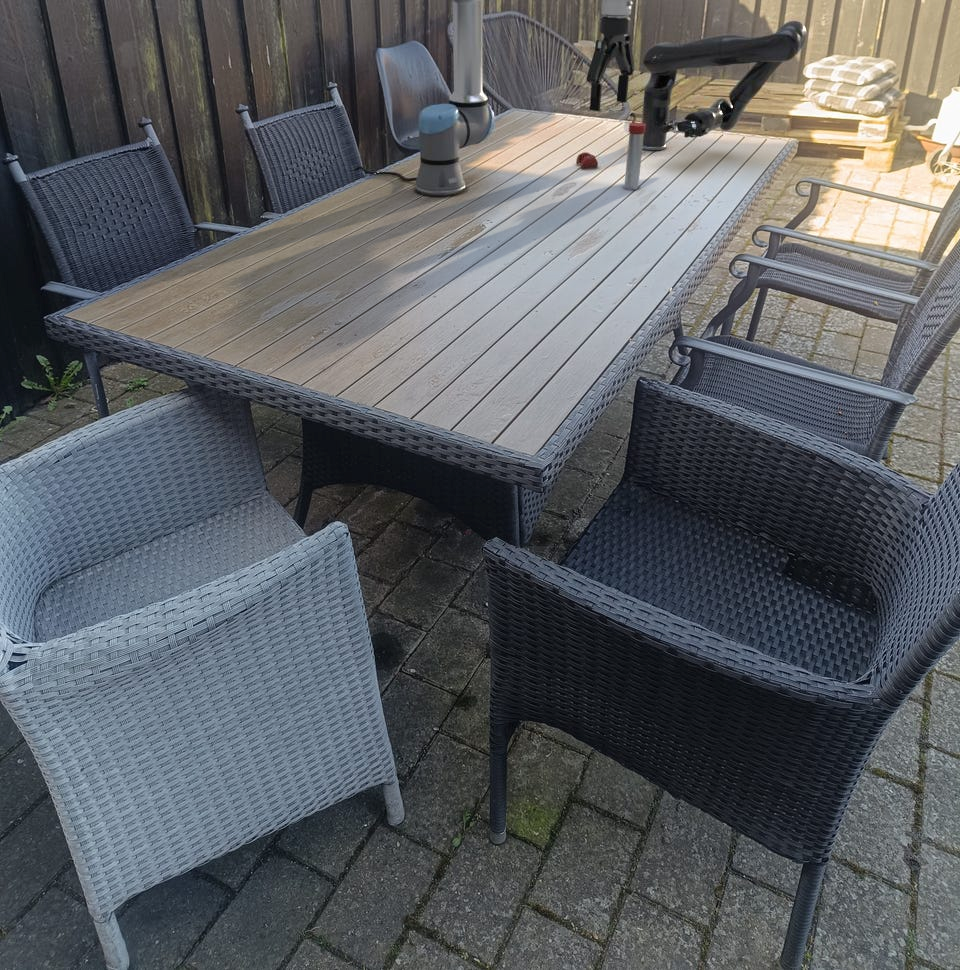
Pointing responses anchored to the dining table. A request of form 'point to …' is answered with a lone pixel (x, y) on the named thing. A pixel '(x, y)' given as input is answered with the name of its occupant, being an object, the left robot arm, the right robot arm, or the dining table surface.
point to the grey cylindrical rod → (633, 161)
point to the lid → (637, 128)
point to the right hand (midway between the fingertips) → (673, 132)
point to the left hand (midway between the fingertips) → (608, 106)
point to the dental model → (587, 160)
